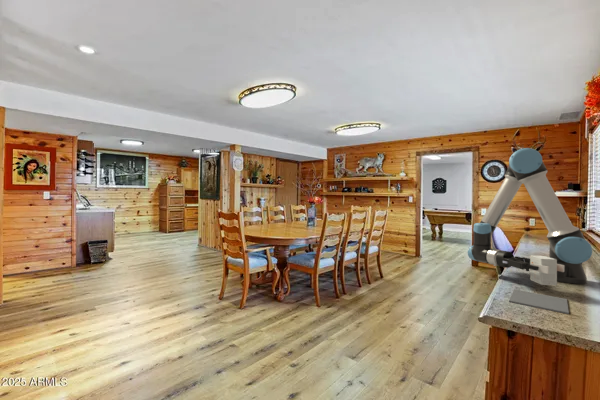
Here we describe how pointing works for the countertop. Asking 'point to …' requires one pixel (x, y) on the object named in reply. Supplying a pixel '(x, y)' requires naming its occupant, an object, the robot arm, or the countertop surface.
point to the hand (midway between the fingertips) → (556, 269)
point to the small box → (544, 277)
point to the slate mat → (540, 301)
